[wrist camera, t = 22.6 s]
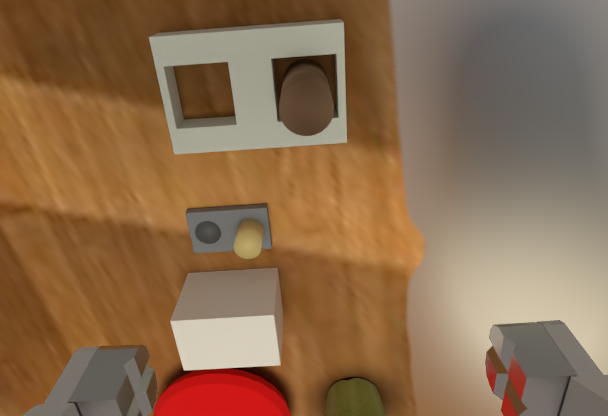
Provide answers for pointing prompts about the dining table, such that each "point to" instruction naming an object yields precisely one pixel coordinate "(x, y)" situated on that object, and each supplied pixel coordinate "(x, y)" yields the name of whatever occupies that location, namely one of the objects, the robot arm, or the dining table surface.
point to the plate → (230, 229)
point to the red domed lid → (221, 395)
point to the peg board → (247, 83)
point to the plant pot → (353, 399)
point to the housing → (229, 319)
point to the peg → (306, 98)
